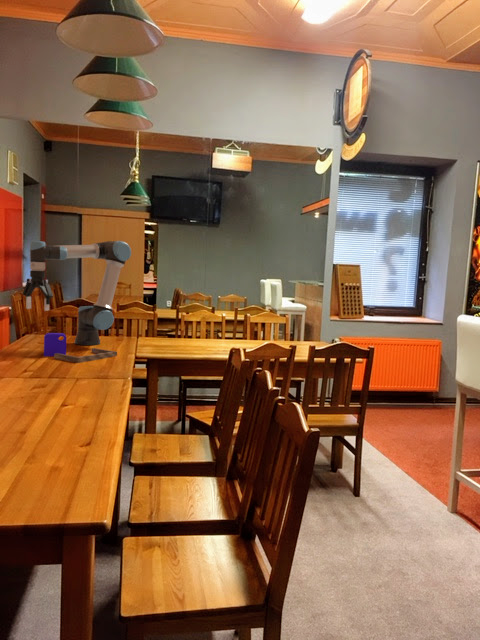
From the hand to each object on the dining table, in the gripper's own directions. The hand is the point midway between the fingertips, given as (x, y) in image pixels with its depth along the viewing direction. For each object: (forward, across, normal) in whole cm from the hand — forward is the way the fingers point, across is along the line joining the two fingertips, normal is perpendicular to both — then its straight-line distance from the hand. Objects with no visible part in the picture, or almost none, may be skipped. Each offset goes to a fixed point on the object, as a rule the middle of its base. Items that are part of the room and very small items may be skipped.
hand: (37, 309), depth 278 cm
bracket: (+24, +8, +4) cm, 26 cm away
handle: (+24, +28, +6) cm, 37 cm away
